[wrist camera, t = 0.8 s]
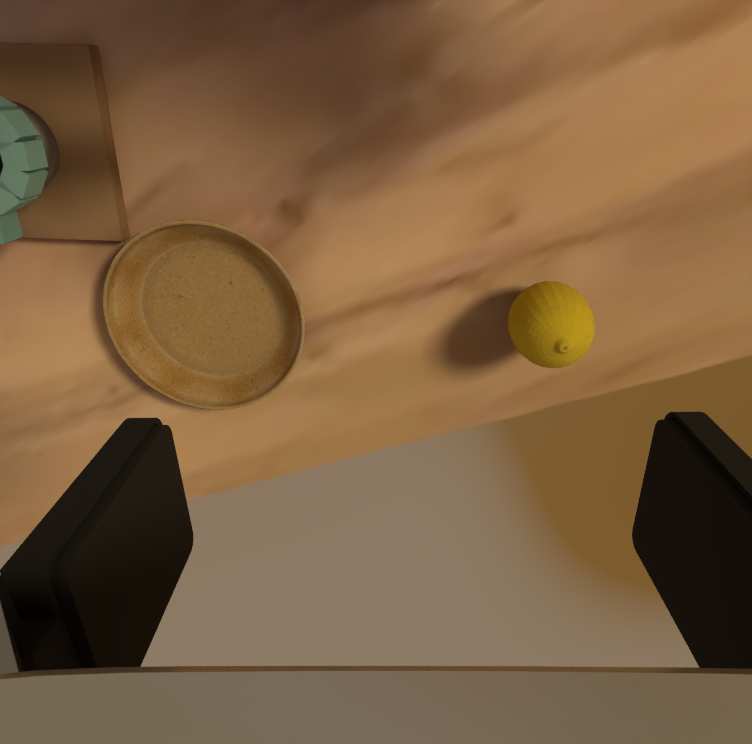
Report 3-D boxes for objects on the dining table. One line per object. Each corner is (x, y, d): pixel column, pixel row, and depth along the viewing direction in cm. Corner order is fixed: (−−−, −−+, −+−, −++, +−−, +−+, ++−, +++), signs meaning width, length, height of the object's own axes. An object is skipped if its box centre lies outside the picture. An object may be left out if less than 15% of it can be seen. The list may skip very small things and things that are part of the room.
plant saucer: (120, 377, 47) (106, 393, 44) (113, 195, 40) (96, 202, 38) (298, 407, 47) (293, 423, 45) (320, 232, 41) (316, 241, 38)
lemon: (503, 343, 44) (523, 393, 37) (496, 274, 41) (517, 313, 34) (575, 331, 43) (611, 380, 36) (573, 261, 41) (611, 298, 34)
